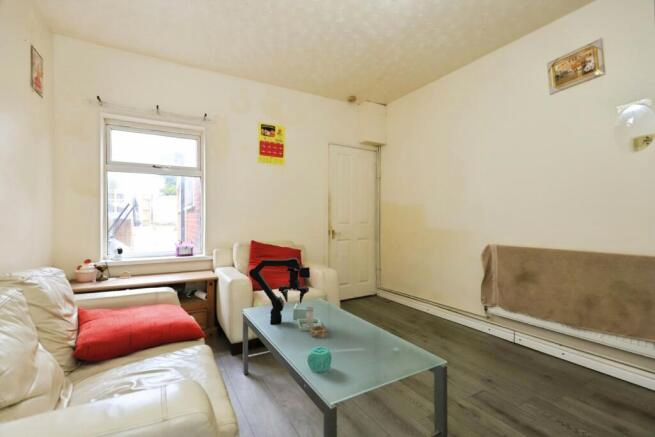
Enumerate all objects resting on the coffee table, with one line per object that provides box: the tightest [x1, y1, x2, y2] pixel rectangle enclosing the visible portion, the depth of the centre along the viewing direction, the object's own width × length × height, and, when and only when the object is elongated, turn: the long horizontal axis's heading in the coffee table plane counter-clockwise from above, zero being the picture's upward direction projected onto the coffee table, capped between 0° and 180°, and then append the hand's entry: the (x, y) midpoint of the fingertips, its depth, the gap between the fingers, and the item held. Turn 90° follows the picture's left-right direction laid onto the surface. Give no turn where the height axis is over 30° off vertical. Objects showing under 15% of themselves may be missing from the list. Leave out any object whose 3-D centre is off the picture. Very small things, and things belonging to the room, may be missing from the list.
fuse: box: [305, 306, 314, 327], centre depth 177 cm, size 4×4×11 cm
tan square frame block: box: [309, 324, 328, 338], centre depth 165 cm, size 8×8×4 cm
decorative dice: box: [306, 346, 333, 373], centre depth 130 cm, size 8×8×8 cm
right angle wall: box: [292, 303, 307, 321], centre depth 196 cm, size 12×12×8 cm
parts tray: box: [296, 317, 323, 332], centre depth 177 cm, size 14×14×3 cm
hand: (293, 302), depth 183 cm, fingers open, 9 cm apart
